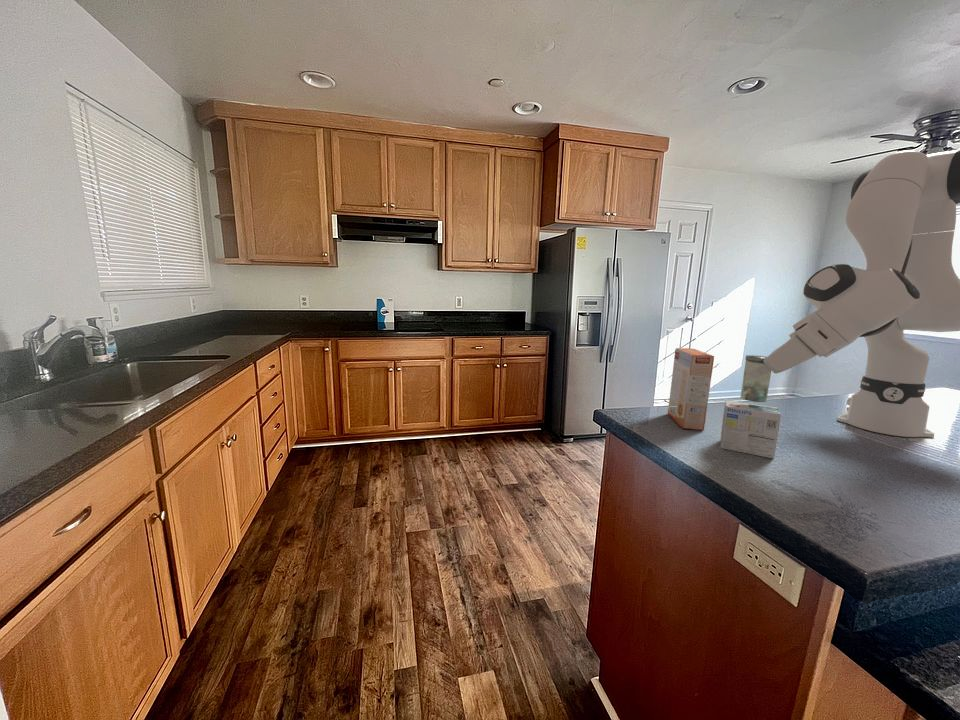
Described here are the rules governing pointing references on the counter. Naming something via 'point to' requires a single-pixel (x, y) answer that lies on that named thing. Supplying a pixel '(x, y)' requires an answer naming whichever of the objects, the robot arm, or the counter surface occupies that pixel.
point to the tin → (755, 381)
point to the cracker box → (690, 387)
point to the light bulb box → (750, 428)
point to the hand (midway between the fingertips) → (753, 374)
